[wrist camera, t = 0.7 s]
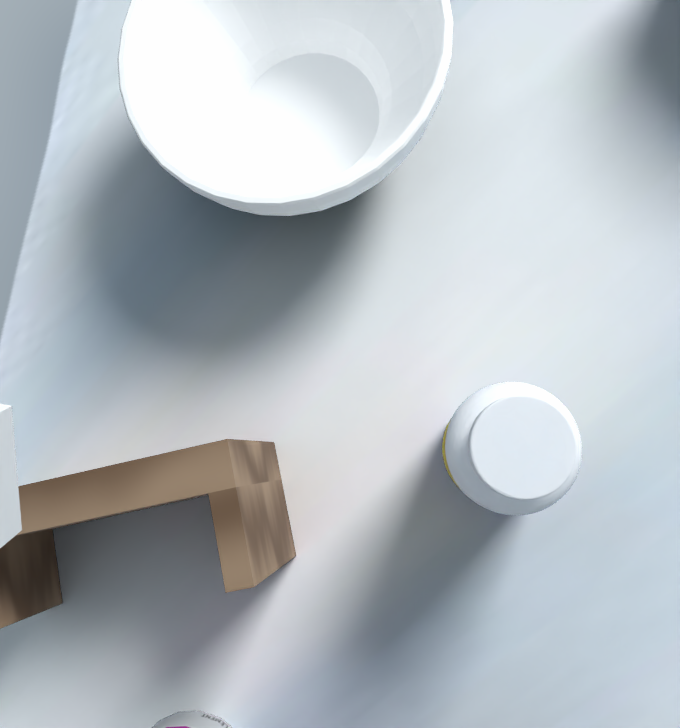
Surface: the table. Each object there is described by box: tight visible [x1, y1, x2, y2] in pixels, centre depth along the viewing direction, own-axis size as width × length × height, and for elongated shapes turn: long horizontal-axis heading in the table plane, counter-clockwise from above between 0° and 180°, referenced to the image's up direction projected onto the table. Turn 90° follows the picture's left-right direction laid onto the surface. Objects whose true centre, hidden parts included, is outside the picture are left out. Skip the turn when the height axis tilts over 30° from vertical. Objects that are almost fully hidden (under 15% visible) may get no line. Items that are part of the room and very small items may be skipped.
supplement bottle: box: [442, 382, 582, 515], centre depth 35 cm, size 7×7×13 cm
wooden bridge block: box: [0, 439, 296, 628], centre depth 39 cm, size 8×18×10 cm, turn 102°
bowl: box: [118, 0, 453, 216], centre depth 41 cm, size 20×20×10 cm
